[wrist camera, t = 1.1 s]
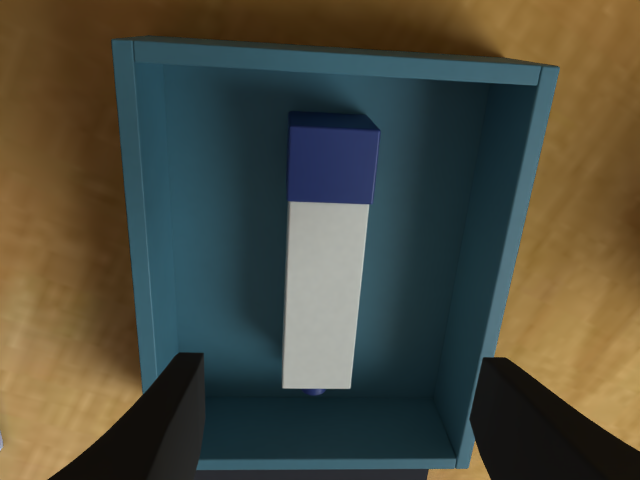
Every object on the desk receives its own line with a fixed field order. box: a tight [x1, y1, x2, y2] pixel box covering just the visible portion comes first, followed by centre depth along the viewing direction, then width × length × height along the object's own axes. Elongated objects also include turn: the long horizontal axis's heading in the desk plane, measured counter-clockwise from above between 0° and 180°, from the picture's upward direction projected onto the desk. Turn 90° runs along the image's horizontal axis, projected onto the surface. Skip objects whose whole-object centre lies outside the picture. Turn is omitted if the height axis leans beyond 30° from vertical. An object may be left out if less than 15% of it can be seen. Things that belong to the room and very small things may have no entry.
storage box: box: [111, 35, 560, 470], centre depth 20 cm, size 13×16×4 cm
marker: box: [282, 111, 381, 396], centre depth 20 cm, size 12×3×3 cm, turn 177°
